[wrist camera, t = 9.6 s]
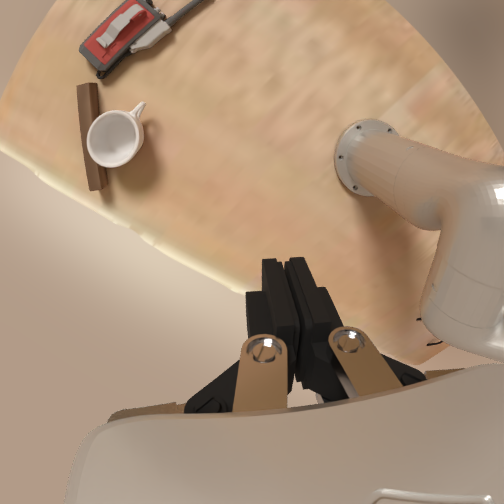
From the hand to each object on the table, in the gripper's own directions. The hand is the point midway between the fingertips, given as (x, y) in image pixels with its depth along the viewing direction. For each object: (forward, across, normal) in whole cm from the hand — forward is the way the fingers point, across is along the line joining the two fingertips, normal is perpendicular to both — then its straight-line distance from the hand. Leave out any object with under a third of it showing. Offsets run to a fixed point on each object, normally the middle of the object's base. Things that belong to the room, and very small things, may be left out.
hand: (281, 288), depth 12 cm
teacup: (+34, +17, -5) cm, 38 cm away
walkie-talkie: (+34, +14, -21) cm, 42 cm away
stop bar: (+33, +22, -5) cm, 40 cm away
